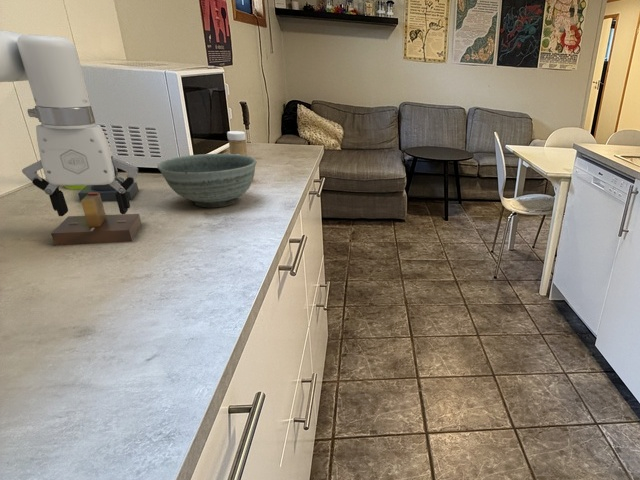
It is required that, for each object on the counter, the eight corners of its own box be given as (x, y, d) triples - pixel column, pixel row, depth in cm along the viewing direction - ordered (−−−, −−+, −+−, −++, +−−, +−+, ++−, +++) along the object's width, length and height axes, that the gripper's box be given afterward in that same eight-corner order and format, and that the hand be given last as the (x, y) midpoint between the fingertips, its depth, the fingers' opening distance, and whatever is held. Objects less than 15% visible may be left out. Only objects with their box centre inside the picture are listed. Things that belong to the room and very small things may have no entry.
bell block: (80, 202, 107) (75, 185, 105) (91, 192, 115) (86, 175, 113) (131, 201, 111) (127, 184, 109) (138, 191, 118) (135, 175, 116)
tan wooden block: (99, 226, 88) (92, 199, 86) (88, 227, 88) (80, 199, 85) (106, 218, 92) (99, 191, 90) (95, 218, 92) (88, 192, 89)
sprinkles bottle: (235, 184, 130) (228, 133, 123) (232, 180, 133) (225, 130, 127) (252, 183, 132) (246, 133, 126) (249, 179, 135) (243, 130, 129)
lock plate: (55, 246, 85) (50, 232, 84) (71, 228, 93) (67, 215, 92) (132, 242, 89) (128, 229, 88) (141, 225, 97) (138, 212, 96)
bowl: (261, 213, 109) (256, 170, 104) (158, 217, 102) (148, 171, 97) (261, 190, 126) (256, 152, 121) (172, 192, 119) (164, 151, 115)
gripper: (-6, 118, 75) (30, 221, 83) (121, 121, 81) (143, 217, 89) (13, 112, 81) (45, 208, 89) (130, 115, 87) (150, 205, 95)
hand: (94, 212), depth 89 cm, fingers open, 9 cm apart
